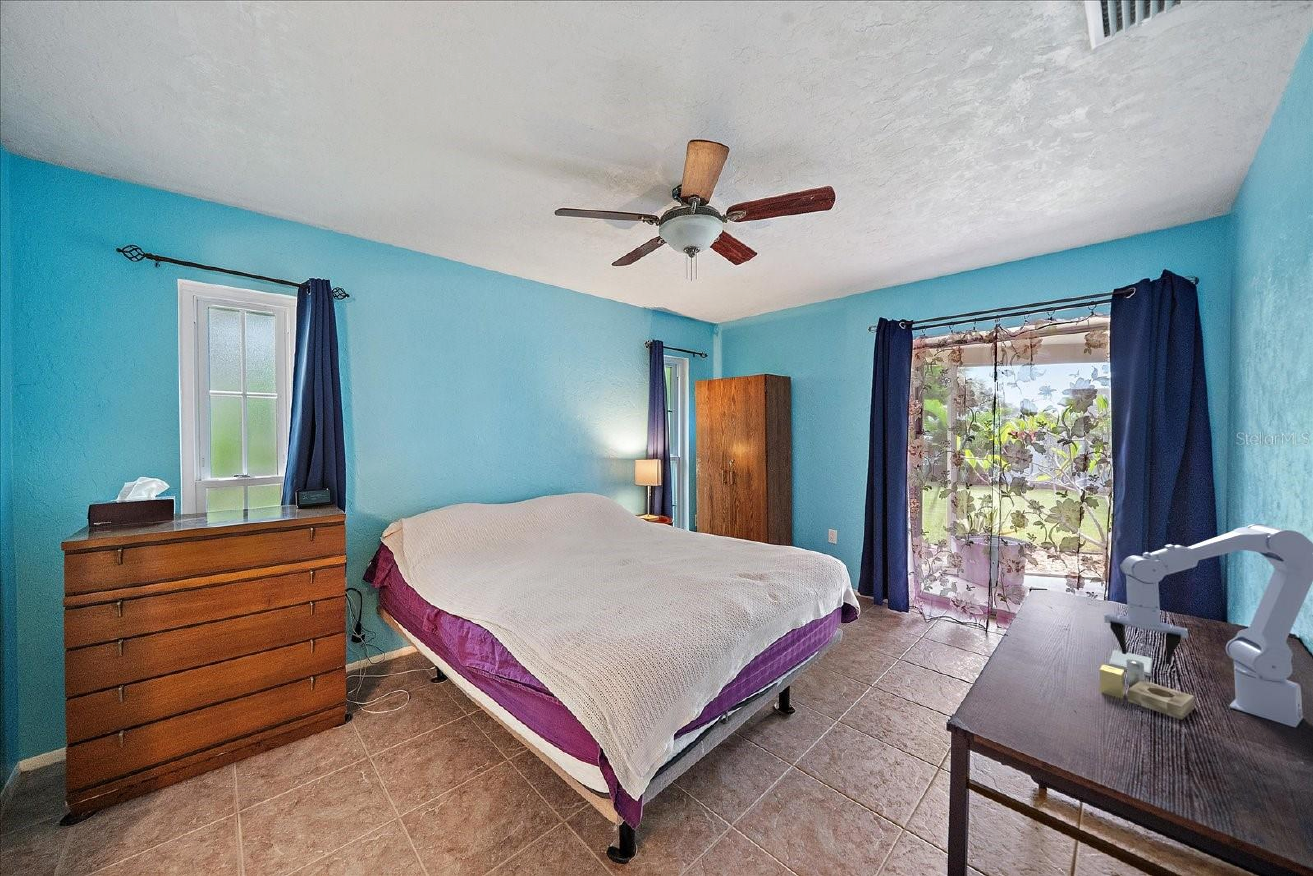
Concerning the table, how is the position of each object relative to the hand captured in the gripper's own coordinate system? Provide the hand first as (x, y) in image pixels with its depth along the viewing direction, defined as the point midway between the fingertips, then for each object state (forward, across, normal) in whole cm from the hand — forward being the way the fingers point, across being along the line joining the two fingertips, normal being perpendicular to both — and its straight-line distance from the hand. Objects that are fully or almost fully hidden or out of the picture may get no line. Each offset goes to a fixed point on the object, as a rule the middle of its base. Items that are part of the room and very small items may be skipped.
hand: (1145, 657), depth 117 cm
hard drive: (+10, +4, -20) cm, 23 cm away
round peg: (+10, +2, -5) cm, 11 cm away
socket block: (+10, -2, +4) cm, 11 cm away
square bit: (+10, +6, +4) cm, 12 cm away
